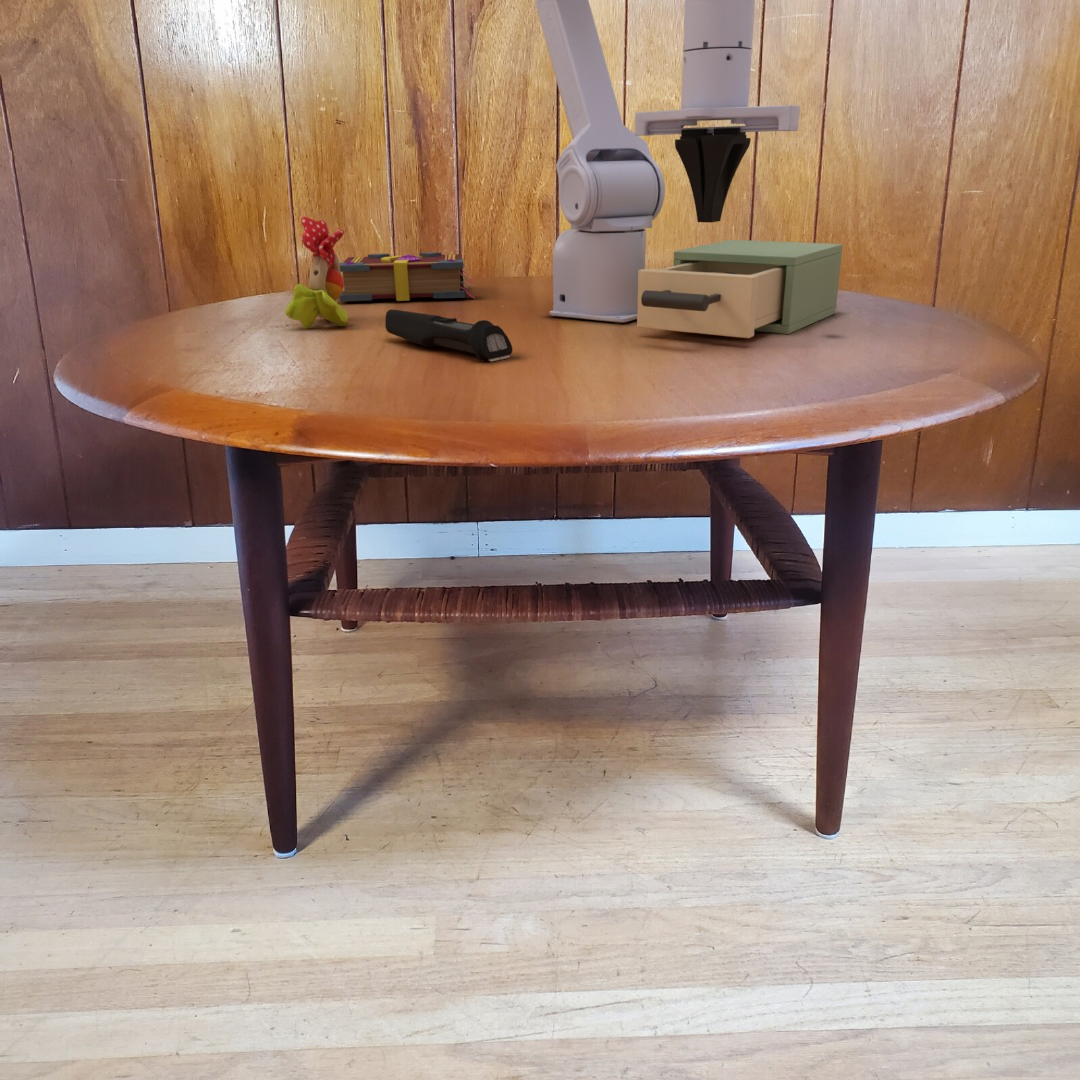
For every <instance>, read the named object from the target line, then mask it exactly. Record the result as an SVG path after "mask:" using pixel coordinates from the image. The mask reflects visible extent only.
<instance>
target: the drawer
mask: <svg viewBox="0 0 1080 1080" xmlns="http://www.w3.org/2000/svg"><path fill="white" fill-rule="evenodd" d="M786 268H787V266H786V265H767V264H749V263H730V262H711V261H693V262H689V263H685V264H680V265H676V266H673V265H671V266H668V267H664V268H658V269H656V268H655V269H654V268H645V269H641V270H639V271H638V310H637V319H636V327H637V328H640V329H641V328H642V329H651V330H652V329H653V330H661V331H670V332H681V333H691V334H701V335H713V336H723V337H731V338H741V339H751V338H752V337H754V336H755V331H754V329H756V328H758V327H761V326H763V325H766V324H768V323H771V322H773V321H776V320H778V319H781V318H782V316H783V304H784V292H785V280H786ZM710 271H718V272H732V273H737V274H723V273H707V272H710Z"/></svg>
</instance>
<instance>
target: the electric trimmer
mask: <svg viewBox="0 0 1080 1080" xmlns="http://www.w3.org/2000/svg"><path fill="white" fill-rule="evenodd" d="M384 320H385V323H384V324H385V325H384V326H385V330H386V331H387V332H388V334H391V335H394V336H396V337H398V338H399V337H400V338H402V339H404V340H407V341H410V342H413V343H415V344H417V345H421V346H424V347H428V348H438V347H445V348H449V349H453V350H458V351H460V352H461V351H462V352H466V353H471V354H475V356H476V358H477V359H478V360H479V361H482V362H486V361H489V362H494V361H495V362H496V361H499V360H504V359H505V360H506V359H508V358H509V359H510V356H511V355H512V354H513V346H512V342H511V341H510V339H509V337H508V335H507V334H506V333H505V332H504V330H503V329H502V328H501V326H499V325H494V323H492V322H491V321H489V320H485V319H483V320H482V319H481V320H478V321H476V322H474V323H469V322H463V321H458V320H457V318H456V317H453V318H451V317H445V316H441V315H436V314H428V313H420V312H413V311H407V310H401V309H393V308H392V309H391V308H390V309H388V310H387V311H386V313H385V319H384Z"/></svg>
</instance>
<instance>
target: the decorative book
mask: <svg viewBox="0 0 1080 1080" xmlns="http://www.w3.org/2000/svg"><path fill="white" fill-rule="evenodd" d="M339 264H340V273H342V278H343V282H344V286H343V292H342V294H341V296H340V297H339V302H353V303H355V302H364V301H365V302H366V301H373V300H377V299H378V300H379V299H396V302H404V301H411V298H433V299H453V300H454V299H462V298H463V299H464V298H466V293H467V295H468V296H470V298H472V299H473V300H475V296H474V295H472V294H470V293H469V292H468V290H467V289H469V286H468V285H467V284H466V282H465V281H464V279H465V280H467V281H468V282H469V283H471V284H472V285H474V282H473V281H471V280H470V279H469V277H468V273H467V272H466V271H468V269H467V267H466V265H465V264H464V258H463V253H451V254H442V252H440V251H433V252H432V251H431V252H430V251H429V252H428V251H427V252H419V254H415V255H413V254H404V255H391V254H390V253H371V254H367V256H348V257H346V259H345V260H344V261H343V262H342V261H341V262H340V261H339ZM464 268H465V270H466V271H465V270H464ZM465 274H466V275H465ZM466 288H467V289H466Z"/></svg>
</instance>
